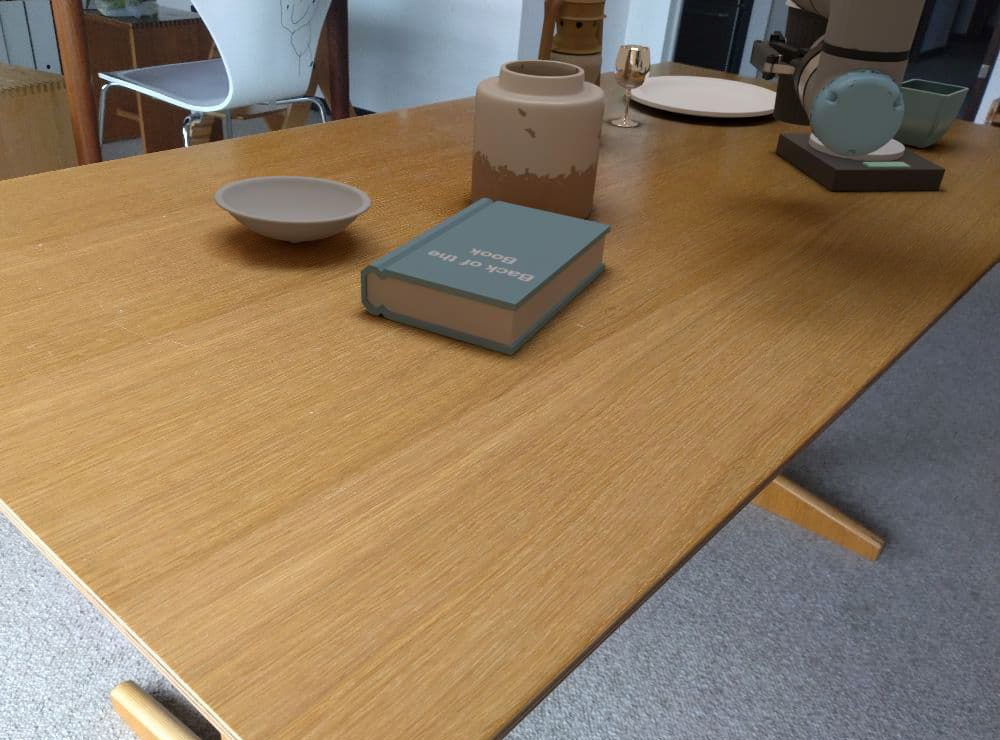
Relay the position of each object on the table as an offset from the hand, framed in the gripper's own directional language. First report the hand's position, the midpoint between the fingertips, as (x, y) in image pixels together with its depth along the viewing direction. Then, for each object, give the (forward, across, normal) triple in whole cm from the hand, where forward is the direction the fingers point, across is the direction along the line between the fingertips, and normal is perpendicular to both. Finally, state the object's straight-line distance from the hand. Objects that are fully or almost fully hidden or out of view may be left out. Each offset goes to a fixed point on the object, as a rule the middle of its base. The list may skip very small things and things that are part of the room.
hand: (810, 44), depth 110 cm
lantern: (+14, -31, -19) cm, 39 cm away
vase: (-17, -31, -19) cm, 40 cm away
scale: (+14, +12, -19) cm, 26 cm away
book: (-43, -32, -19) cm, 56 cm away
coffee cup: (-5, 0, -8) cm, 9 cm away
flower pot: (+33, +24, -19) cm, 45 cm away
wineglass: (+29, -22, -19) cm, 41 cm away
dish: (-36, -55, -19) cm, 69 cm away
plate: (+46, -9, -19) cm, 51 cm away
